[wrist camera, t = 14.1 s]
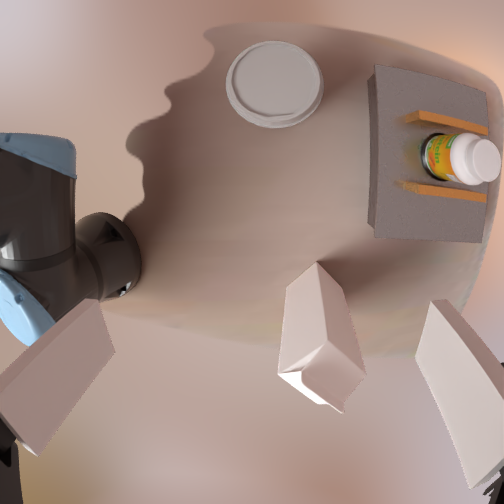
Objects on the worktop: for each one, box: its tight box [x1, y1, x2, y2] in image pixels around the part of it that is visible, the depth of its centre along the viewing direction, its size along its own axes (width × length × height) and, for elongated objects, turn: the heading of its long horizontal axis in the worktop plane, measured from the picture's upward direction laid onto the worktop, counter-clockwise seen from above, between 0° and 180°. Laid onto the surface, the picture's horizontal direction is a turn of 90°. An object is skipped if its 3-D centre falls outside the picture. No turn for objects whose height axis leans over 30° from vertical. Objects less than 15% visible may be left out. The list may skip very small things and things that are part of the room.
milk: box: [278, 262, 366, 414], centre depth 31 cm, size 6×6×22 cm
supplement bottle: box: [425, 133, 501, 185], centre depth 22 cm, size 5×5×10 cm
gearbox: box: [368, 64, 489, 243], centre depth 28 cm, size 17×21×10 cm
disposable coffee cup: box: [226, 41, 324, 128], centre depth 28 cm, size 10×10×12 cm
